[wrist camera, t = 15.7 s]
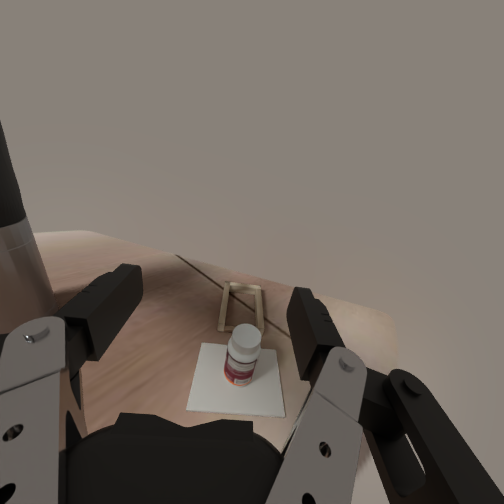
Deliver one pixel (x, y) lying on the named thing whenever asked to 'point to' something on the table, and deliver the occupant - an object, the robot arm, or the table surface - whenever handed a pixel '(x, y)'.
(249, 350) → the pill bottle
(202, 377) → the mat
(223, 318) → the wooden rectangular frame
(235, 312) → the table surface
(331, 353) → the robot arm
